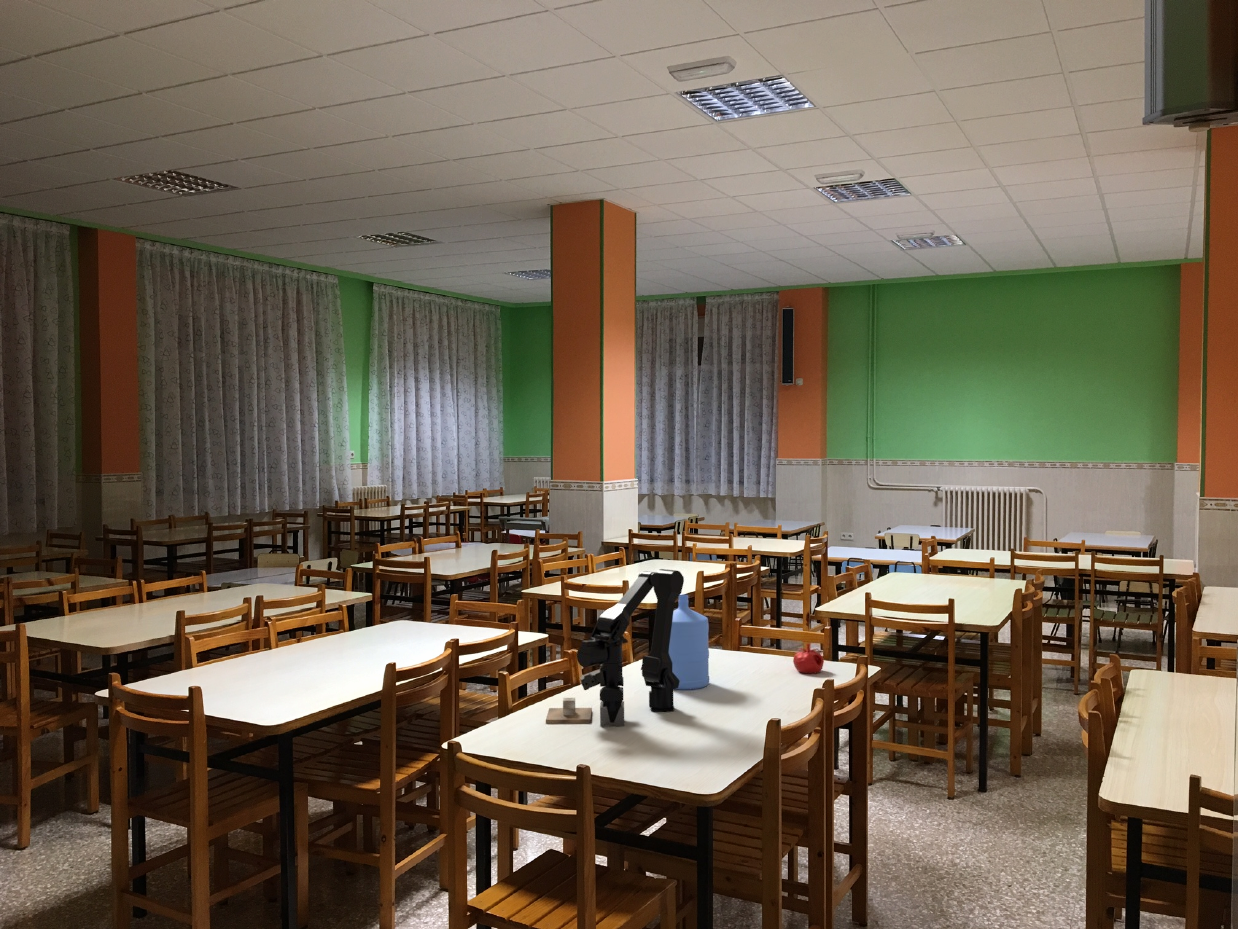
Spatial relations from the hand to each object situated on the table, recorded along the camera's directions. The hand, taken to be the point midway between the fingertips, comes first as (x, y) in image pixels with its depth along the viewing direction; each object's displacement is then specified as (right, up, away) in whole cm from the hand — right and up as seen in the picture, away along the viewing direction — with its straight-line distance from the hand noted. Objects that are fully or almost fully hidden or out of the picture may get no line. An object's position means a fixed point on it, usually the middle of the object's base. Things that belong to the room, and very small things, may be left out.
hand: (612, 719), depth 263 cm
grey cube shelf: (0, -1, 0) cm, 1 cm away
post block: (-12, -1, +6) cm, 13 cm away
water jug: (+22, -1, +43) cm, 48 cm away
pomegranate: (+64, 0, +58) cm, 87 cm away
